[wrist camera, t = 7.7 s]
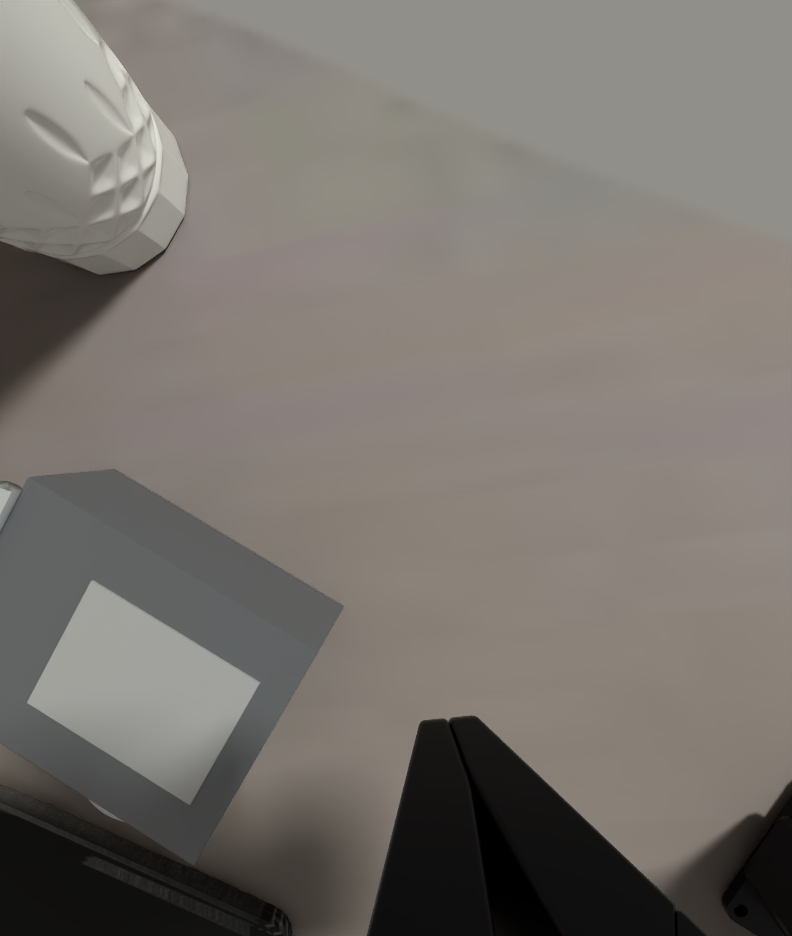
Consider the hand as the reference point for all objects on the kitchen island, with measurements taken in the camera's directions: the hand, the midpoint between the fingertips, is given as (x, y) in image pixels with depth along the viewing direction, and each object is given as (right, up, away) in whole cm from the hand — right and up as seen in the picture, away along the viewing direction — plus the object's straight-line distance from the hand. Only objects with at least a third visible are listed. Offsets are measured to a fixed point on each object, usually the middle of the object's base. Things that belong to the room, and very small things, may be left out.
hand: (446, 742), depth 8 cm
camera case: (-10, -2, +14) cm, 17 cm away
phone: (-13, -16, +15) cm, 26 cm away
